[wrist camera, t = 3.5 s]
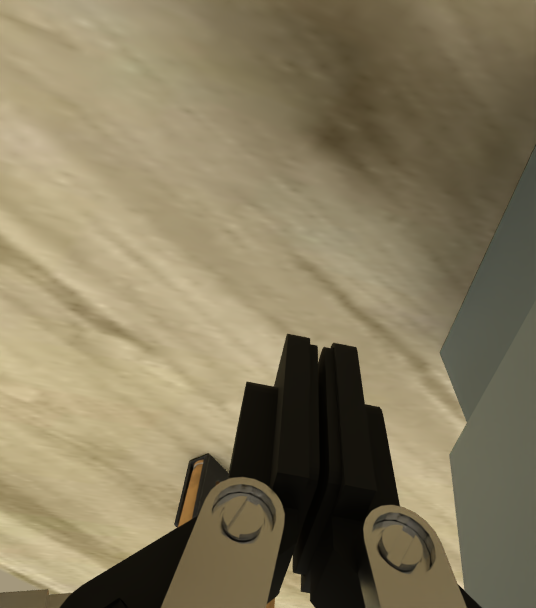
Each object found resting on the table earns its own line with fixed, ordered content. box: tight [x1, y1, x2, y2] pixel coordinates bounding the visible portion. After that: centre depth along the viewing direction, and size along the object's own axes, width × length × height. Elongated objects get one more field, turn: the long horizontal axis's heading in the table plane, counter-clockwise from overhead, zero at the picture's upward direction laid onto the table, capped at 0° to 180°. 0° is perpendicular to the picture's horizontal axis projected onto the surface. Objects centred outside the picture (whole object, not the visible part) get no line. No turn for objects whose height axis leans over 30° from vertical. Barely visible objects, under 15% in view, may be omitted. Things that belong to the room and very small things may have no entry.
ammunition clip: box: [174, 454, 280, 608], centre depth 31 cm, size 11×2×12 cm, turn 33°
